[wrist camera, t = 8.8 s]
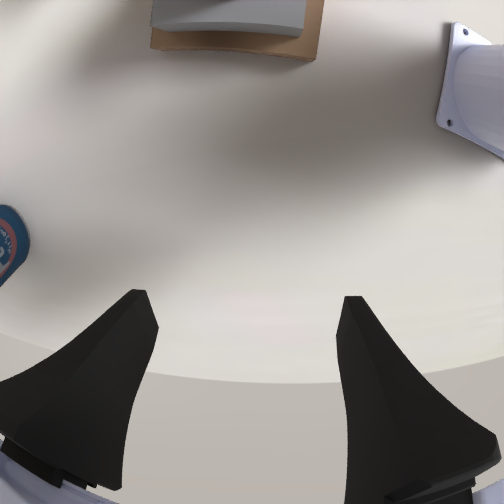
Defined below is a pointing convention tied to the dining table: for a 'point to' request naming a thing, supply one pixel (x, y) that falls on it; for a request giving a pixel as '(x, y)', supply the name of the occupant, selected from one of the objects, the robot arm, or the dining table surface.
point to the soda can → (12, 241)
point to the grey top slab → (230, 16)
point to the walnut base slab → (249, 39)
